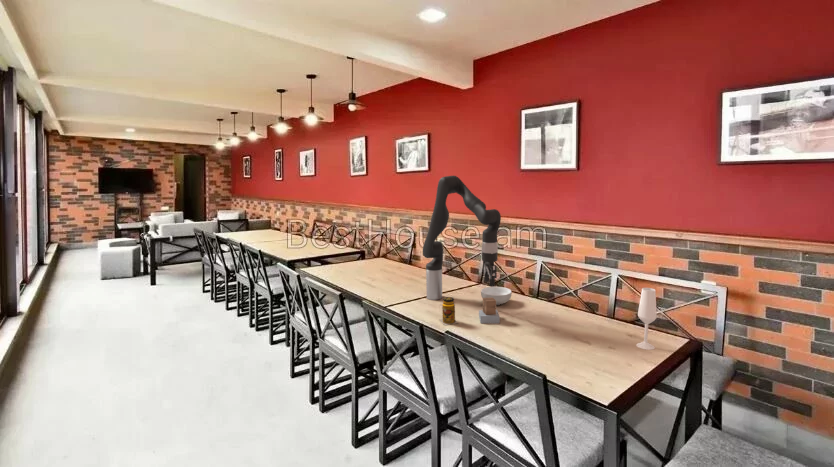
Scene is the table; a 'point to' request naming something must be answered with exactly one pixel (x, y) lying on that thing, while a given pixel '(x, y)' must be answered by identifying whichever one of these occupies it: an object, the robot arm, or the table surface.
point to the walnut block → (489, 306)
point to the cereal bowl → (497, 294)
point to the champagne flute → (647, 313)
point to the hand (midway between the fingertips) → (489, 283)
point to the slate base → (488, 317)
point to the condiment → (448, 311)
